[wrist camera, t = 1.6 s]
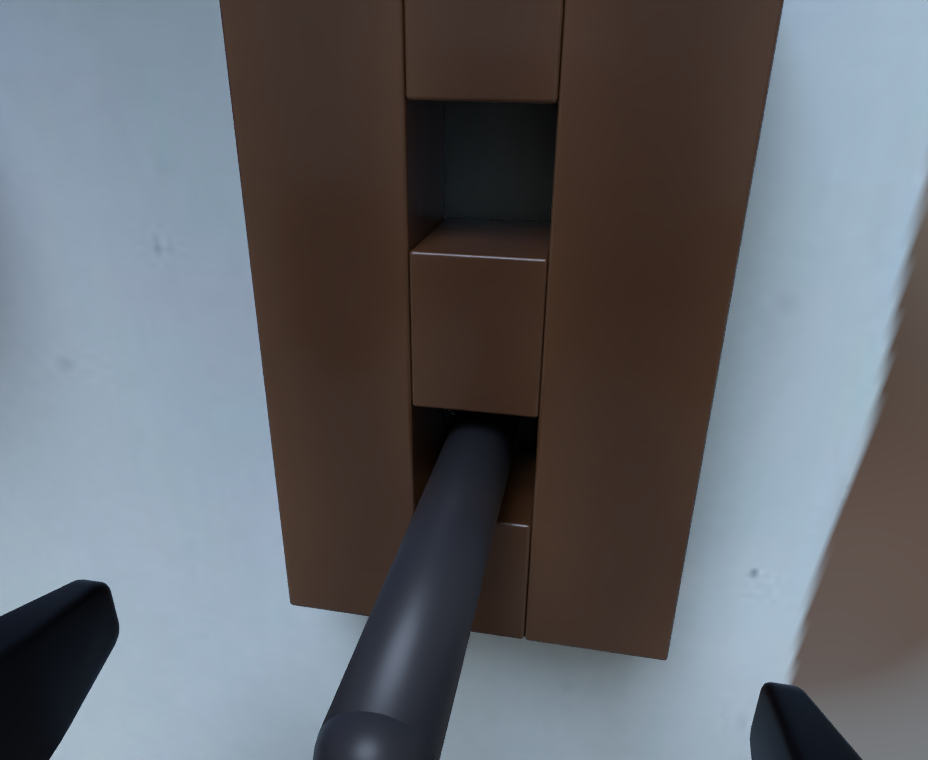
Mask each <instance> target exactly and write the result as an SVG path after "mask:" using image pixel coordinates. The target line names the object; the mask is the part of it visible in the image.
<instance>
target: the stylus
mask: <svg viewBox="0 0 928 760" xmlns="http://www.w3.org/2000/svg"><path fill="white" fill-rule="evenodd" d="M521 420H522V416H514V415H503V414H493V413H482V412H472V411H461V410H458V413H457V415H456V417H455V420H454V422H453V424H452V427H451V429H450V431H449V434H448V436H447V438H446V440H445V443H444V445H443V447H442V450H441V452H440V454H439V457H438V459H437V461H436V464H435V466H434V468H433V470H432V473H431V475H430V477H429V480H428V482H427V484H426V487H425V489H424V491H423V494H422V496H421V498H420V500H419V503H418V505H417V507H416V510H415V512H414V514H413V517H412V519H411V521H410V524H409V526H408V528H407V530H406V533H405V535H404V537H403V540H402V542H401V544H400V547H399V549H398V551H397V554H396V556H395V558H394V561H393V563H392V565H391V567H390V570H389V572H388V574H387V577H386V579H385V581H384V584H383V586H382V588H381V591H380V593H379V595H378V597H377V600H376V602H375V604H374V607H373V609H372V611H371V614H370V616H369V618H368V621H367V623H366V625H365V627H364V630H363V632H362V634H361V637H360V639H359V641H358V644H357V646H356V648H355V651H354V653H353V655H352V657H351V660H350V662H349V664H348V667H347V669H346V671H345V674H344V676H343V678H342V681H341V683H340V685H339V687H338V690H337V692H336V694H335V697H334V699H333V701H332V704H331V706H330V708H329V711H328V713H327V715H326V718H325V720H324V722H323V724H322V727H321V729H320V731H319V734H318V737H317V740H316V744H315V748H314V755H313V760H439V759H440V755H441V751H442V747H443V743H444V739H445V735H446V731H447V726H448V722H449V718H450V714H451V710H452V706H453V702H454V698H455V693H456V689H457V685H458V681H459V677H460V673H461V669H462V664H463V660H464V656H465V652H466V648H467V644H468V640H469V636H470V631H471V627H472V623H473V619H474V615H475V611H476V607H477V603H478V598H479V594H480V590H481V586H482V582H483V578H484V574H485V569H486V565H487V561H488V557H489V553H490V549H491V545H492V541H493V536H494V532H495V528H496V524H497V520H498V516H499V512H500V508H501V503H502V499H503V495H504V491H505V487H506V483H507V479H508V474H509V470H510V466H511V462H512V458H513V454H514V450H515V446H516V441H517V437H518V433H519V429H520V425H521Z"/></svg>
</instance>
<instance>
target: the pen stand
mask: <svg viewBox="0 0 928 760" xmlns="http://www.w3.org/2000/svg"><path fill="white" fill-rule="evenodd" d="M219 1H220V10H221V18H222V27H223V35H224V44H225V52H226V61H227V69H228V78H229V86H230V95H231V103H232V112H233V120H234V129H235V137H236V146H237V154H238V163H239V171H240V180H241V188H242V197H243V205H244V214H245V222H246V231H247V239H248V248H249V256H250V265H251V273H252V282H253V290H254V299H255V307H256V316H257V324H258V333H259V341H260V350H261V358H262V367H263V375H264V384H265V392H266V401H267V409H268V418H269V426H270V434H271V443H272V451H273V460H274V468H275V477H276V485H277V494H278V502H279V511H280V519H281V528H282V536H283V545H284V553H285V562H286V570H287V579H288V587H289V596H290V603H291V604H292V605H297V606H303V607H310V608H317V609H324V610H330V611H337V612H344V613H351V614H357V615H364V616H370V614H371V611H372V609H373V607H374V604H375V602H376V600H377V597H378V595H379V593H380V591H381V588H382V586H383V584H384V581H385V579H386V577H387V574H388V572H389V570H390V567H391V565H392V563H393V561H394V558H395V556H396V554H397V551H398V549H399V547H400V544H401V542H402V540H403V537H404V535H405V533H406V530H407V528H408V526H409V524H410V521H411V519H412V517H413V514H414V512H415V510H416V507H417V505H418V503H419V500H420V498H421V496H422V494H423V491H424V489H425V487H426V484H427V482H428V480H429V477H430V475H431V473H432V470H433V468H434V466H435V464H436V461H437V459H438V457H439V454H440V452H441V450H442V447H443V445H444V409H451V410H461V411H472V412H482V413H493V414H503V415H514V416H524V417H538V415H539V417H538V433H537V449H536V452H528V451H519V450H514V454H513V458H512V462H511V466H510V470H509V474H508V479H507V483H506V487H505V491H504V495H503V499H502V503H501V508H500V512H499V516H498V520H497V524H496V528H495V532H494V536H493V541H492V545H491V549H490V553H489V557H488V561H487V565H486V569H485V574H484V578H483V582H482V586H481V590H480V594H479V598H478V603H477V607H476V611H475V615H474V619H473V623H472V627H471V631H472V632H478V633H485V634H492V635H499V636H505V637H512V638H519V639H522V638H523V637H524V636H525V638H526V639H527V640H531V641H538V642H544V643H551V644H558V645H565V646H571V647H578V648H585V649H592V650H598V651H605V652H612V653H619V654H625V655H632V656H639V657H646V658H653V659H659V660H666V659H667V657H668V651H669V646H670V640H671V634H672V629H673V623H674V618H675V612H676V606H677V601H678V595H679V589H680V584H681V578H682V572H683V567H684V561H685V555H686V550H687V544H688V539H689V533H690V527H691V522H692V516H693V510H694V505H695V499H696V493H697V488H698V482H699V476H700V471H701V465H702V460H703V454H704V448H705V443H706V437H707V431H708V426H709V420H710V414H711V409H712V403H713V397H714V392H715V386H716V381H717V375H718V369H719V364H720V358H721V352H722V347H723V341H724V335H725V330H726V324H727V318H728V313H729V307H730V302H731V296H732V290H733V285H734V279H735V273H736V268H737V262H738V256H739V251H740V245H741V239H742V234H743V228H744V222H745V217H746V211H747V206H748V200H749V194H750V189H751V183H752V177H753V172H754V166H755V160H756V155H757V149H758V143H759V138H760V132H761V127H762V121H763V115H764V110H765V104H766V98H767V93H768V87H769V81H770V76H771V70H772V64H773V59H774V53H775V48H776V42H777V36H778V31H779V25H780V19H781V14H782V8H783V2H784V0H219ZM444 101H449V102H497V103H544V104H554V103H556V102H558V114H557V130H556V146H555V162H554V178H553V194H552V210H551V223H536V222H516V221H496V220H475V219H455V218H446V219H444Z"/></svg>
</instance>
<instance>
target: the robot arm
mask: <svg viewBox="0 0 928 760" xmlns="http://www.w3.org/2000/svg"><path fill="white" fill-rule="evenodd" d="M118 634H119V622H118V618H117V614H116V610H115V606H114V602H113V598H112V594H111V590H110V588H109V587H108V585H107V584H105V583H103V582H97V581H90V580H84V579H83V580H76V581H73V582H71V583H69V584H67V585H65V586H63V587H61V588H59V589H57V590H54V591H52V592H50V593H48V594H46V595H44V596H42V597H40V598H38V599H36V600H34V601H31V602H29V603H27V604H25V605H23V606H21V607H19V608H17V609H15V610H13V611H10V612H8V613H6V614H4V615H2V616H0V760H49V759H50V758H51V756H52V754H53V753H54V751H55V750H56V748H57V747H58V745H59V744H60V742H61V740H62V738H63V737H64V735H65V733H66V732H67V730H68V728H69V727H70V725H71V723H72V721H73V719H74V718H75V716H76V714H77V712H78V710H79V709H80V707H81V705H82V703H83V701H84V700H85V698H86V696H87V694H88V692H89V691H90V689H91V687H92V685H93V683H94V682H95V680H96V678H97V676H98V674H99V673H100V671H101V669H102V667H103V665H104V664H105V662H106V660H107V658H108V656H109V655H110V653H111V651H112V649H113V647H114V646H115V643H116V641H117V638H118ZM750 748H751V758H752V760H862V759H861V758H860V757H859V755H858V754H857V753H856V752H855V750H853V748H852V747H851V746H850V745H849V743H848V742H847V741H846V740H845V739H844V738H843V736H842V735H841V734H840V733H839V732H838V731H837V729H836V728H835V727H834V726H833V725H832V723H831V722H830V721H829V720H828V719H827V718H826V716H825V715H824V714H823V713H822V712H821V711H820V709H819V708H818V707H817V706H816V705H815V704H814V702H813V701H812V700H811V699H810V698H809V697H808V696H807V694H806V693H805V692H804V691H803V690H802V689H800V688H799V687H796V686H792V685H786V684H779V683H772V682H768V683H765V684H764V685H763V687H762V688H761V691H760V695H759V699H758V703H757V707H756V711H755V715H754V718H753V722H752V726H751V733H750Z"/></svg>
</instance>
